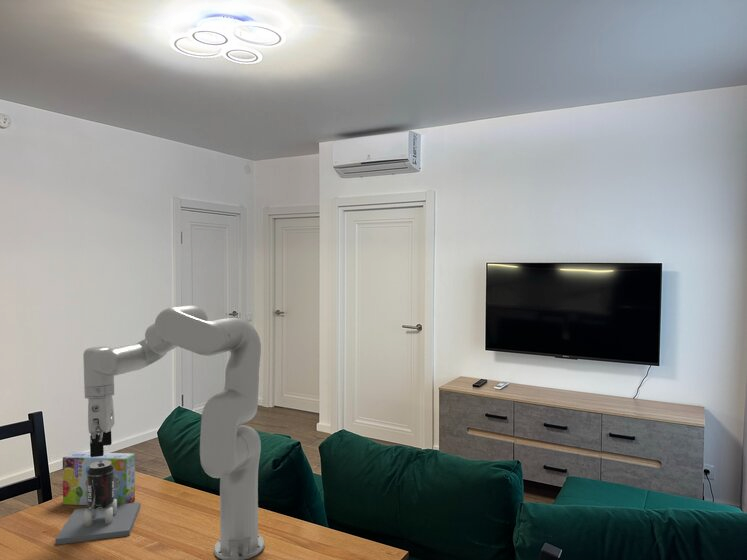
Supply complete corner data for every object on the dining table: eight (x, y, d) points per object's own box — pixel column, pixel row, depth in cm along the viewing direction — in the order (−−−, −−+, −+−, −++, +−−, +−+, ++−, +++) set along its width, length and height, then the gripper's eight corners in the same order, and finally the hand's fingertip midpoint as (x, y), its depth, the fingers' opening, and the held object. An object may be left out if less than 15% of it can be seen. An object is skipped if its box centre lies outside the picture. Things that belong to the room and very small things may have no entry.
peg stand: (129, 535, 143) (129, 515, 143) (55, 544, 138) (55, 524, 138) (140, 506, 160) (140, 489, 160) (75, 514, 156) (74, 495, 155)
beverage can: (91, 513, 144) (90, 470, 144) (84, 505, 149) (83, 463, 149) (117, 505, 149) (117, 464, 149) (110, 498, 154) (109, 457, 154)
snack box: (136, 500, 165) (135, 452, 165) (126, 508, 160) (125, 459, 159) (73, 497, 167) (72, 450, 167) (61, 505, 162) (60, 456, 162)
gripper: (107, 396, 141) (109, 459, 141) (120, 383, 158) (122, 440, 158) (76, 398, 139) (78, 462, 139) (92, 385, 156) (94, 442, 156)
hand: (101, 450), depth 149 cm, fingers open, 9 cm apart
